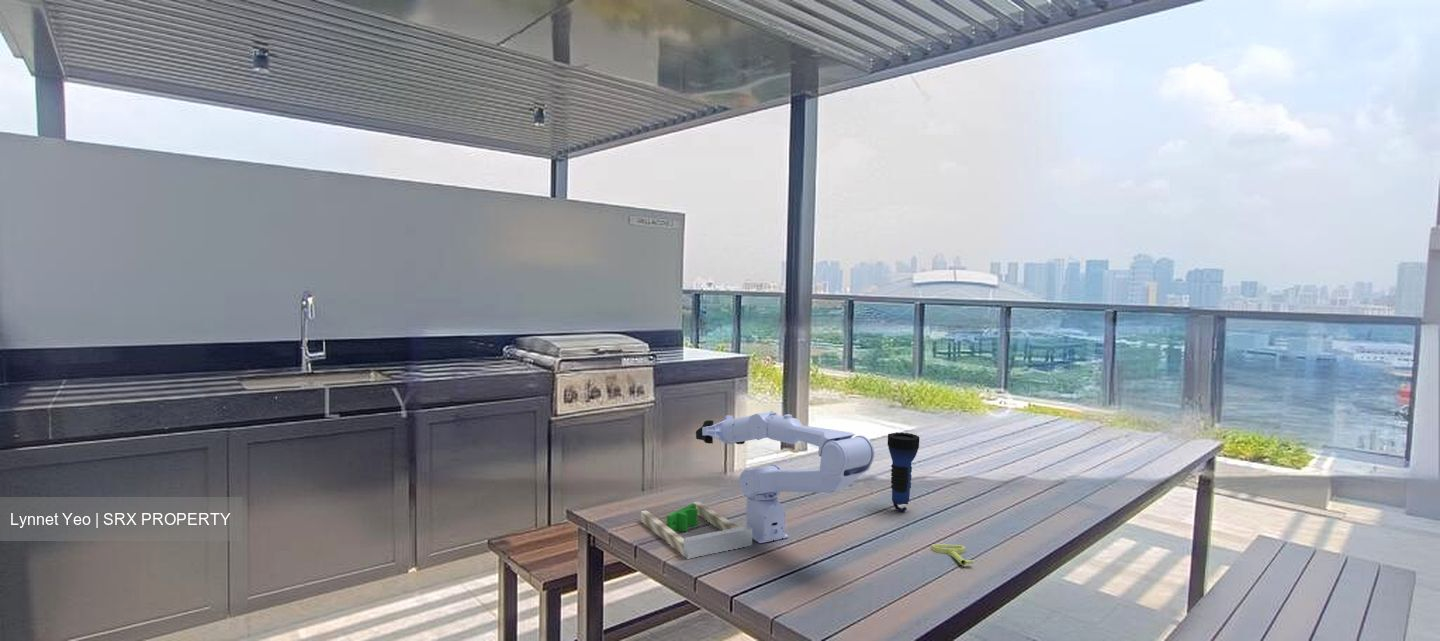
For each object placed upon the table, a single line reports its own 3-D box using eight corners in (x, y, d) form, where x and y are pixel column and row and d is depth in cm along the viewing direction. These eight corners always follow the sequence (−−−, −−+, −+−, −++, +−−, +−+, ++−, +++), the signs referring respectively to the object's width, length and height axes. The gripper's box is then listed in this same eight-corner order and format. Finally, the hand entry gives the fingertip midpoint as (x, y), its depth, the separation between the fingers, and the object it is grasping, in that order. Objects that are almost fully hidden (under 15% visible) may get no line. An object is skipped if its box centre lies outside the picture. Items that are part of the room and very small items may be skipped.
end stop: (752, 546, 144) (752, 528, 143) (687, 559, 136) (688, 541, 136) (747, 542, 145) (747, 525, 145) (683, 556, 138) (683, 537, 137)
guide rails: (747, 542, 145) (747, 532, 145) (683, 556, 138) (683, 544, 137) (698, 511, 166) (698, 501, 166) (640, 521, 158) (640, 511, 158)
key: (962, 571, 133) (962, 561, 133) (926, 548, 144) (927, 539, 144) (991, 567, 135) (992, 557, 135) (954, 545, 147) (954, 536, 146)
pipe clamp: (678, 536, 149) (678, 518, 149) (666, 533, 151) (666, 515, 151) (704, 523, 158) (704, 505, 158) (692, 520, 160) (692, 503, 160)
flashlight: (917, 518, 163) (918, 440, 162) (884, 514, 165) (886, 437, 165) (918, 508, 170) (919, 433, 170) (887, 505, 173) (888, 431, 172)
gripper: (763, 414, 162) (730, 420, 172) (716, 411, 154) (685, 418, 164) (765, 442, 160) (732, 447, 170) (717, 441, 152) (686, 446, 162)
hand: (709, 435), depth 167 cm, fingers open, 7 cm apart
